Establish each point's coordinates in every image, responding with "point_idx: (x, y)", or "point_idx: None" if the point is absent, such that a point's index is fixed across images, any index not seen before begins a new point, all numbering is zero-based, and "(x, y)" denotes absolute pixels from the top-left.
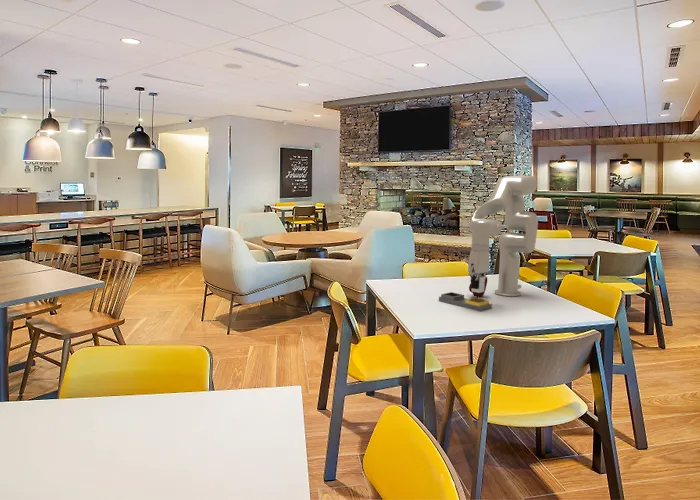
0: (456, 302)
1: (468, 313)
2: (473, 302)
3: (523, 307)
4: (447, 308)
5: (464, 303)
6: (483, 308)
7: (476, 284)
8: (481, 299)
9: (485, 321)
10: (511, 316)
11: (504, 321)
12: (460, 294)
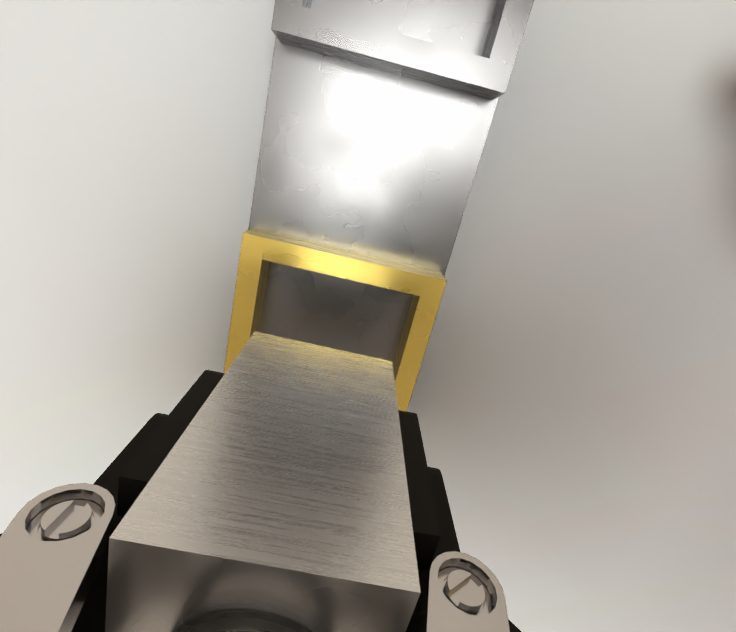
0: (272, 96)
1: (95, 334)
2: (230, 340)
3: (580, 577)
4: (85, 77)
5: (251, 218)
6: None
7: None
8: (398, 368)
9: (7, 506)
10: None
11: None
12: (506, 27)
